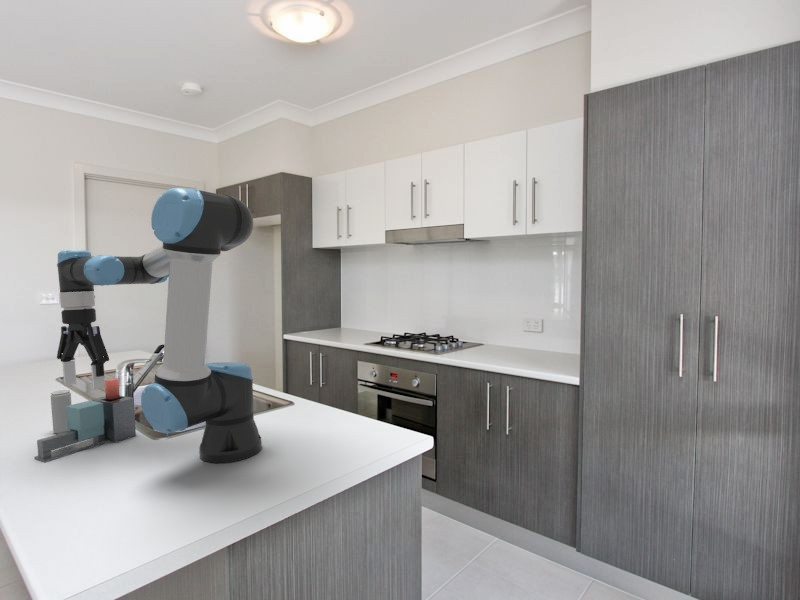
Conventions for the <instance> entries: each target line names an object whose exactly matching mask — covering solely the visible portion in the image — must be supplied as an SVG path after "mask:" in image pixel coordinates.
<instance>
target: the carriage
mask: <svg viewBox="0 0 800 600" xmlns="http://www.w3.org/2000/svg"><path fill="white" fill-rule="evenodd" d="M66 415H67V428H68V431H71V430H77V431H78V440H79V441H81V442H83V441H82V440H84V441H86V440H85V439H87V440H89V438H91V439H93V438H92V437H95V436H98V435H101V434H104V411H103V403H100V402H95V401H92V400H87V401H82V402H77V403H75V404H71V405H69V406H66Z"/></svg>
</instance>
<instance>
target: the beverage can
mask: <svg viewBox="0 0 800 600" xmlns="http://www.w3.org/2000/svg"><path fill="white" fill-rule="evenodd" d="M50 394H51V395H50V405H51V406H50V407H51V418H52V419H51V420H52V431H53V433H54V434H55V435H57V434H60V433H64V432H67V431H68V428H67V415H66V406H69V405H72V393H71V390H70V389H62V390H56V391H53V392H50Z"/></svg>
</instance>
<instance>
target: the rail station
mask: <svg viewBox="0 0 800 600" xmlns="http://www.w3.org/2000/svg"><path fill="white" fill-rule="evenodd" d="M91 401H95V402H100V403H103V411H104V434H101V435H98V436H95V437H92V438H89V439H85V440H82V441H79V440H78V431H77V430H71V431H67V432H64V433H60V434H54V435H51V436H47V437H44V438H40V439H37V440H36V443H37V444H36V445H37V455H35V456H34V457H33V458H34V460H36V461H39V462H42V463H48V462H51V461H54V460H57V459H59V458H63V457H65V456H69V455H72V454H75V453H79V452H81V451H84V450H87V449H90V448H93V447H96V446H99V445H103V444H105V443H109V442H112V443H117V442H118V443H119V442H122V441H123V440H126V439H130V438H133V437H136V436H137V431H136V430H137V429H136V416H135V415H136V414H135V413H136V411H135V398H134V397H130V396H124V395H120V397H119V398H116V399H106V396H105V395H104V396H101V397H97V398H93V399H91Z"/></svg>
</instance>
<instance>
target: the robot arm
mask: <svg viewBox="0 0 800 600" xmlns="http://www.w3.org/2000/svg"><path fill="white" fill-rule="evenodd" d="M153 205H154V206H153V208H152V212H151V219H150V220H151V221H150V223H151V228H152V230H153V234H154V236H155V238H156V239H158V240H159V241H160V242H162V244H161V245H160V246H159V247H157V248H155V249H153V250H150V251H149V252H147V253H145V254H143V255H141V256H118V255H117V256H113V255H107V254H97V255H95V256H92V253H91V252H90V251H89V250H86V249H85V250H84V249H70V250H69V249H68V250H66V249H65V250H60V251H58V253H57V263H56V267H57V271H58V272H57V273H58V283H59V284H58V285H59V300H60V308H61V309H63V310H62V311H61V322H62V324H64V325H62V326H61V327H60V331H61V332H60V339H59V343H58V349H57V353H56V359H57V360H60V361H61V363H62V372H63V385H64V386H65V387H68V386H72V385H77V374H76V361H75V360H76V359H75V354H76V351H77V350H78V347H79V344H80V345H81V346H83V348H84V349H85V351H86V352H87V355H88V356H89V358H90V360H91V363H90V367H91V368H90V371H91V383H92V390H93V391H95V390H101V389H105V380H106V379H105V365H104V364H106V362H109V361H110V357H109V354H108V351H107V349H106V345H105V344H104V340H103V338H102V335H101V329H100V326H99V325H97V326H92V323H95V322H96V321H97V313H96V309H95V308H94V307H95V306H96V305H95V304H96V303H95V298H96V295H95V288H94V287H95V286H101V287H103V286H118V285H143V284H145V285H146V284H148V285H155V284H162V283H165V282H166V281H167V280H168V285H167V299H166V316H165V329H164V330H165V331H164V332H165V333H164V345H163V346H164V347H163V361H162V364H161V365H160V366H159V367H157V368H156V369H155V371H154V380H153V381H154V382H151V383H149V384H148V385H146V386H145V387H144V389H143V390H142V391H141V395H140V403H141V409H142V413H143V415H144V418H145V419H146V420H147V423H148V424H149V425H150V426H151V427H152V428H153V429H154V430H155V431H157V432H159V433H161V434H168V435H169V434H173V433H176V432H179V431H181V432H182V431H185V430H186V429H188V428H190V427H193V426H197V425H199V424H202V423H204V422H205V426H204V427H205V428H204V430H203V433H202V439H201V443H200V445H199V447H198V449H199V451H198V452H199V458H200V459H201V460H202V461H204V462H208V463H212V464H213V463H216V464H217V463H219V464H224V463H231V462H232V463H233V462H238V461H242V460H245V459H248V458H251V457H252V456H255V455H257V454H258V453H260V451H261V450H262V448H263V447H262V446H263V445H262V443H263V442H262V437H261V435H260V434H259V430H258V429H259V428H258V427H257V425H256V421H255V417H254V388H253V386H254V385H253V383H254V382H253V381H254V378H253V375H252V368H251V366H250V365H249V364H246V363H242V362H227V361H225V362H221V361H220V362H219V361H218V362H207V363H206V354H207V353H206V351H207V350H206V349H207V336H208V326H209V314H210V313H209V311H210V299H211V287H212V285H211V284H212V274H213V273H212V271H213V263H214V261H215V260H216V259H218V258H219V257H220V256H221V252H228V251H231V250H233V249H235V248H237V247H239V246H241V245H243V244H244V243H245V242H247V241H248V239H249V238H250V236H251V235H252V233H253V229H254V217H253V215H252V212H251V210H250V209H249V207H248V206H247V204H246V203H244V202H243V201H242V200H240V199H239V198H238V197H235V196H232V195H227V194H221V193H214V192H210V191H209V192H208V191H204V190H200V189H195V188H187V187H173V188H170V189H167V190H166V191H164V192H163V193H162V194H161V196H159V197H158V199H157V200H156V202H155V204H153Z"/></svg>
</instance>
